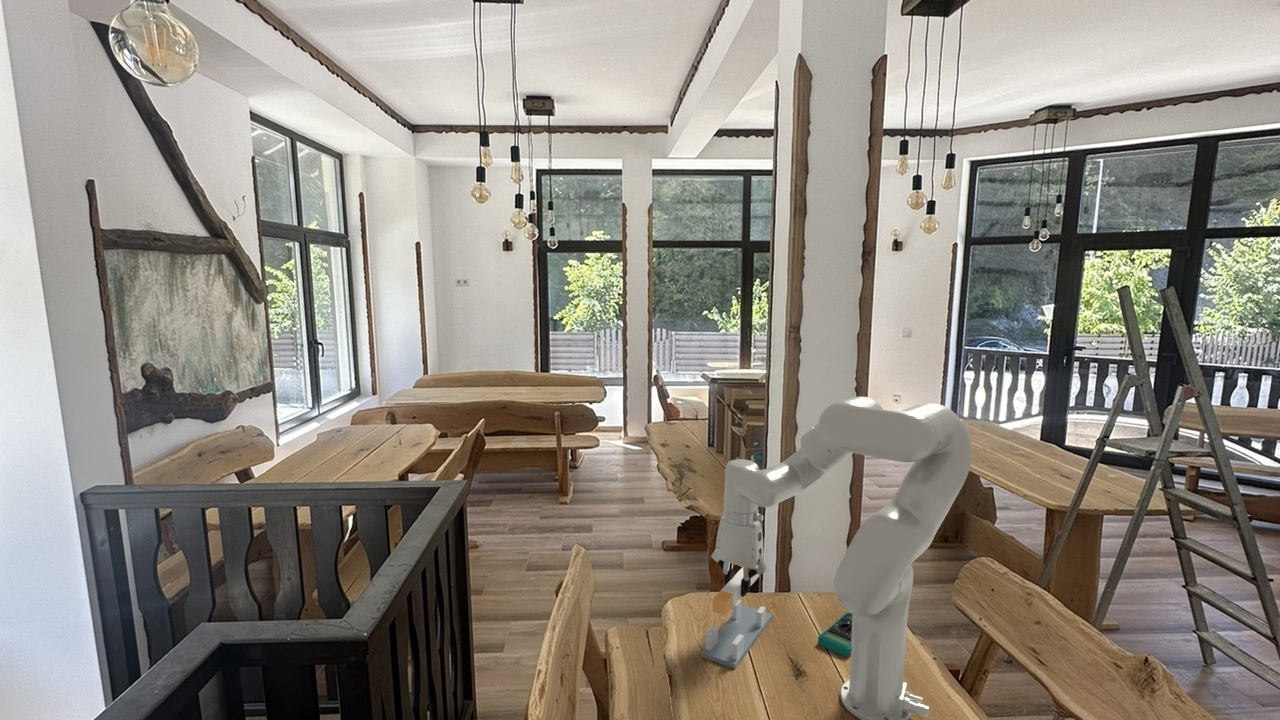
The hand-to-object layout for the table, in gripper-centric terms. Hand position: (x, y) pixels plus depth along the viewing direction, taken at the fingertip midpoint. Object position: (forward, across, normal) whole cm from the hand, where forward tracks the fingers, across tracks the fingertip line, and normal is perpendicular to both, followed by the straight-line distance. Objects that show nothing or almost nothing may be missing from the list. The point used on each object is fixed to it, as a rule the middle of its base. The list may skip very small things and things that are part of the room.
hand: (737, 590), depth 134 cm
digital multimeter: (+11, -22, -12) cm, 28 cm away
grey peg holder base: (+11, -1, 0) cm, 11 cm away
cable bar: (0, 0, 0) cm, 1 cm away
